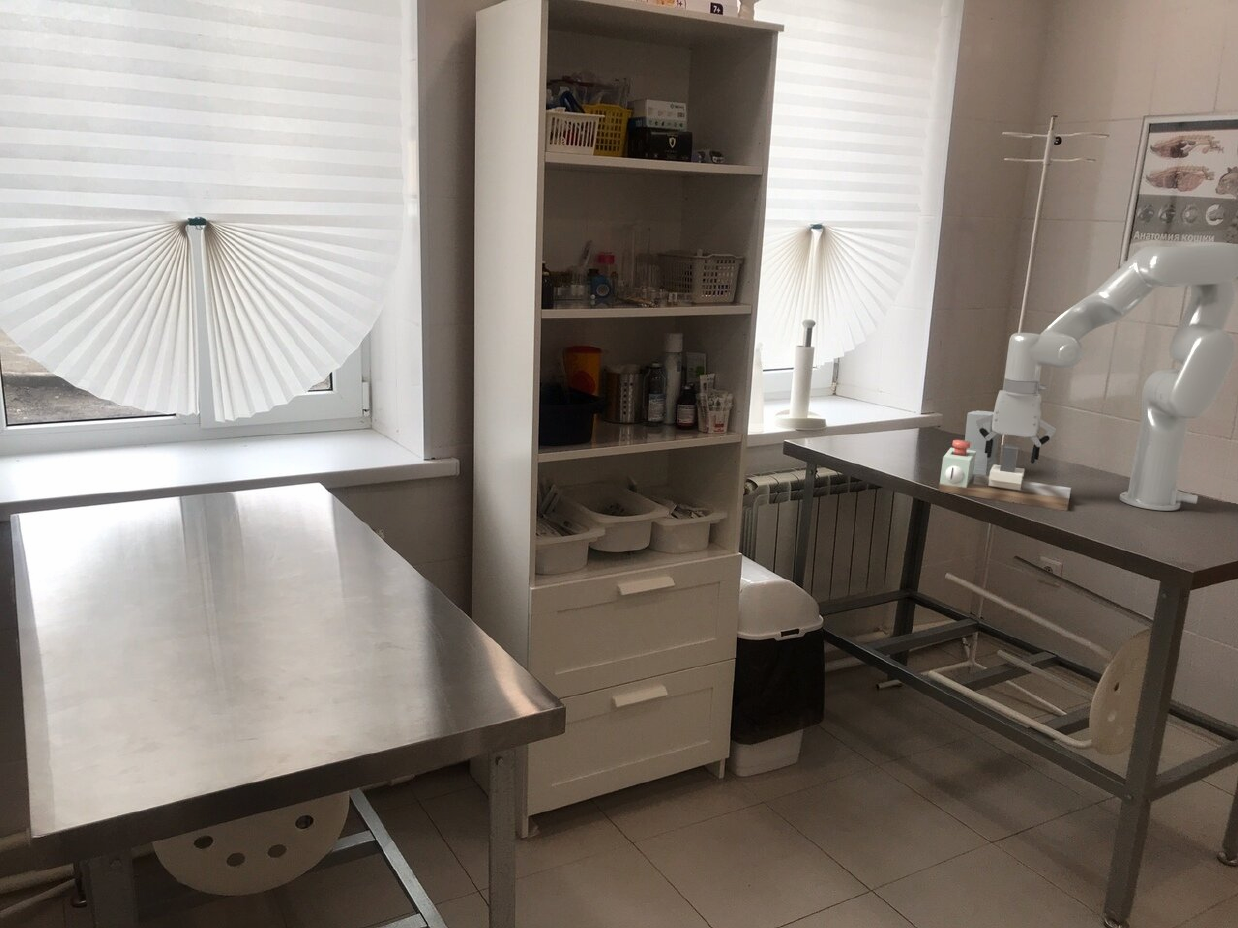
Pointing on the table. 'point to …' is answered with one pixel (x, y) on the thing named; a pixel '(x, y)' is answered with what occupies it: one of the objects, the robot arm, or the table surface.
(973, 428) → the skincare box
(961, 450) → the red reset button
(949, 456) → the sage gauge cabinet
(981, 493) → the walnut rail board
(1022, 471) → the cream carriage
